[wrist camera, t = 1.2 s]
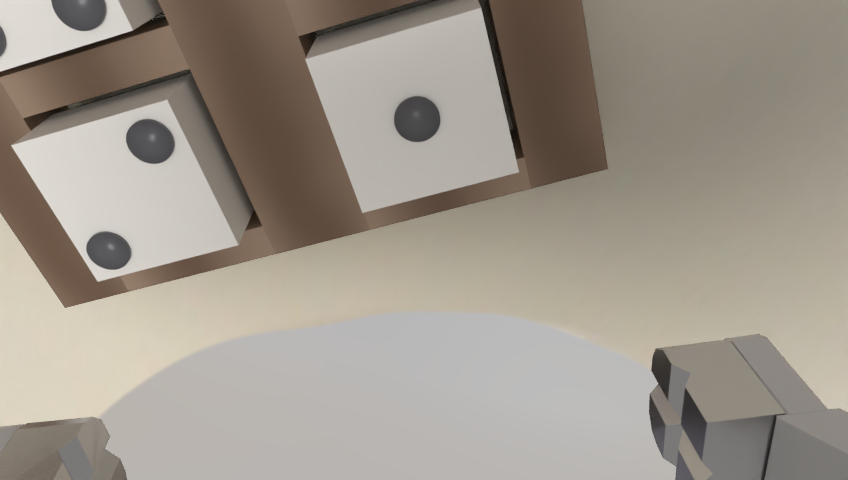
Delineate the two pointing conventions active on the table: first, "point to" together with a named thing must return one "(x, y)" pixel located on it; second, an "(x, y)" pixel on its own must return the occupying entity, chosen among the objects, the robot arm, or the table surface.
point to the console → (290, 122)
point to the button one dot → (414, 102)
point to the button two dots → (139, 178)
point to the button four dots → (64, 25)
